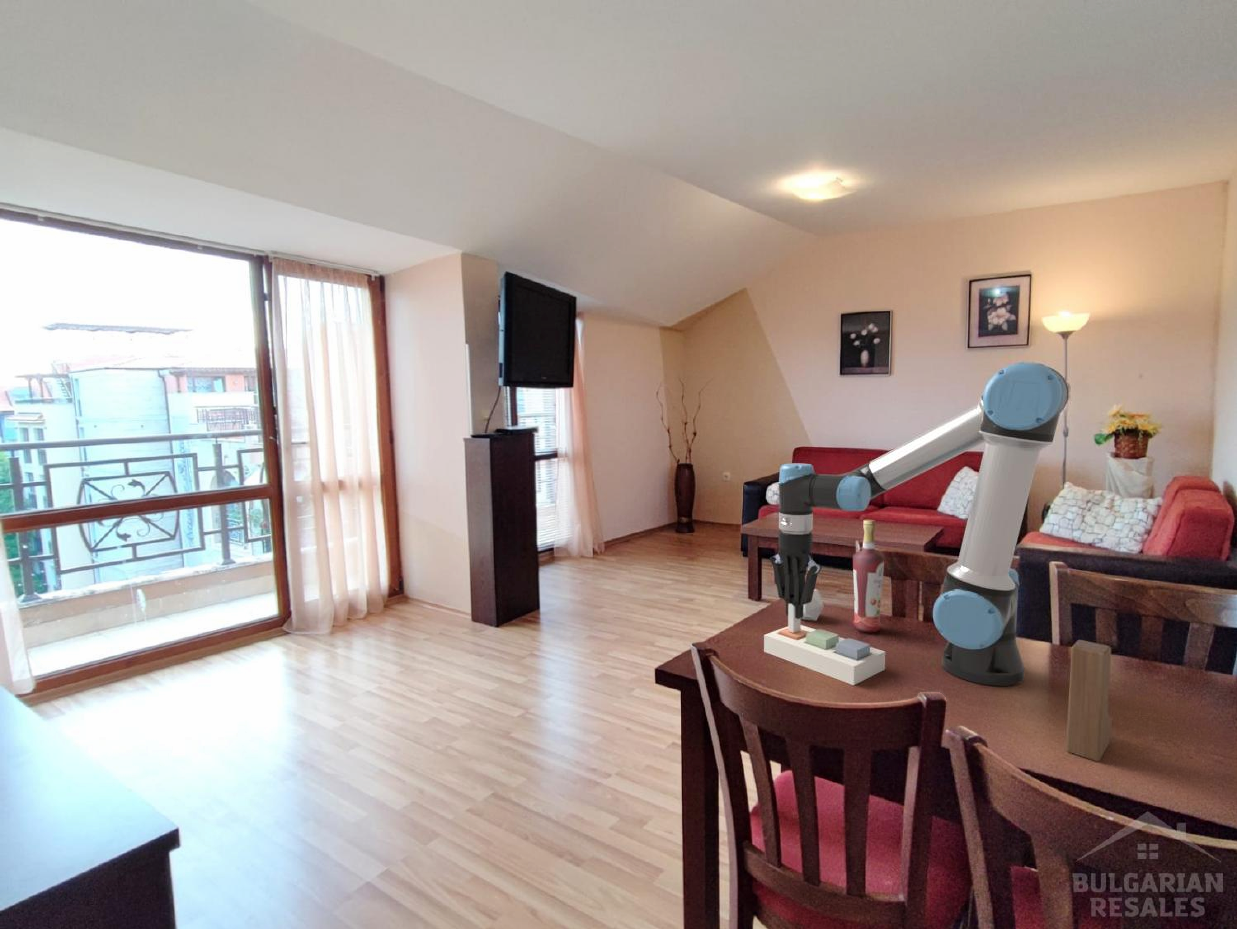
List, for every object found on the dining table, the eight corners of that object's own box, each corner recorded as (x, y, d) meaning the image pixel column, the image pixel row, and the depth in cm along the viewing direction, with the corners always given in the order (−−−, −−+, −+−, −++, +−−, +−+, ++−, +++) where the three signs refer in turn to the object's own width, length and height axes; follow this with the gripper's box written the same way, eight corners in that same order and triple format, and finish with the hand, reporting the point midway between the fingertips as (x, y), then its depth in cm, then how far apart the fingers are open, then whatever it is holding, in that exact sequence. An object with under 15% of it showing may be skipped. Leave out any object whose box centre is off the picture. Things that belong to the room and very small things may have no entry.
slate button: (869, 658, 135) (870, 644, 135) (856, 664, 132) (857, 650, 132) (848, 651, 139) (848, 638, 139) (835, 657, 136) (835, 643, 136)
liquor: (874, 637, 155) (876, 524, 152) (846, 629, 160) (848, 520, 158) (887, 629, 160) (890, 520, 157) (859, 622, 165) (862, 516, 162)
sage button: (838, 647, 141) (838, 634, 141) (825, 653, 138) (825, 640, 138) (819, 641, 145) (819, 628, 145) (806, 646, 142) (806, 633, 142)
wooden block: (1078, 732, 110) (1084, 631, 108) (1111, 742, 106) (1117, 638, 105) (1065, 752, 104) (1071, 645, 102) (1099, 763, 100) (1105, 653, 99)
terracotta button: (809, 644, 147) (810, 632, 147) (796, 650, 144) (796, 637, 144) (792, 638, 151) (792, 626, 151) (778, 643, 148) (778, 631, 148)
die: (785, 615, 174) (782, 594, 168) (807, 596, 176) (805, 575, 170) (809, 633, 168) (807, 612, 162) (831, 613, 171) (829, 592, 164)
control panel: (884, 669, 136) (885, 651, 136) (853, 685, 129) (853, 666, 129) (795, 639, 154) (796, 623, 154) (764, 651, 147) (764, 635, 147)
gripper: (762, 528, 148) (761, 626, 150) (809, 537, 137) (808, 642, 140) (782, 524, 152) (781, 619, 155) (829, 532, 142) (828, 634, 144)
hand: (794, 630), depth 147 cm, fingers closed
